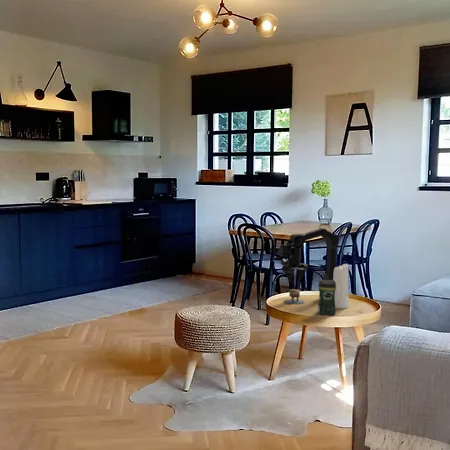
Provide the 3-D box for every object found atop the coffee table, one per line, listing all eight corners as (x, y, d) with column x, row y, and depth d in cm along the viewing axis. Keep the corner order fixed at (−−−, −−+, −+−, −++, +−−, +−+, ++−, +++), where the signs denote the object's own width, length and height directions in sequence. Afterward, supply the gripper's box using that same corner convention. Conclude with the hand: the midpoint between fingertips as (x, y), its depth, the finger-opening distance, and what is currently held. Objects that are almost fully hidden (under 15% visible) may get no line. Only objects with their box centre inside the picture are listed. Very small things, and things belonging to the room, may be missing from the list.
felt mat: (308, 302, 331) (308, 301, 331) (296, 305, 322) (296, 304, 322) (292, 298, 339) (292, 297, 339) (280, 301, 331) (280, 300, 330)
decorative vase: (327, 306, 319) (328, 263, 317) (332, 303, 329) (334, 261, 326) (345, 309, 314) (347, 265, 312) (350, 305, 324) (352, 263, 321)
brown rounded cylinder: (301, 301, 331) (301, 290, 330) (295, 302, 326) (295, 291, 326) (293, 299, 335) (293, 288, 334) (287, 300, 331) (287, 290, 330)
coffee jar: (334, 312, 307) (335, 278, 306) (336, 315, 300) (337, 281, 298) (316, 311, 308) (317, 278, 306) (318, 315, 300) (319, 281, 299)
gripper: (294, 252, 340) (293, 278, 342) (274, 255, 327) (273, 281, 328) (309, 255, 332) (308, 280, 334) (289, 257, 319) (288, 284, 321)
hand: (294, 281), depth 329 cm, fingers open, 9 cm apart
